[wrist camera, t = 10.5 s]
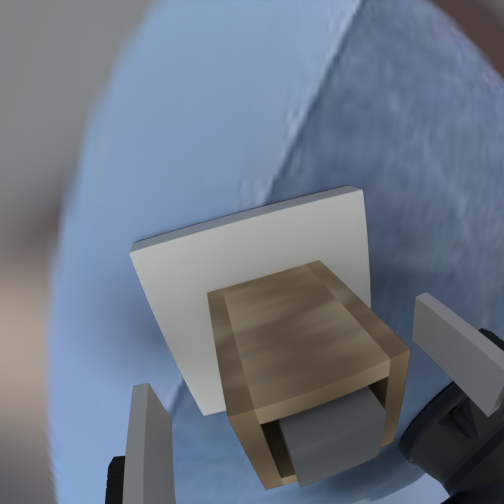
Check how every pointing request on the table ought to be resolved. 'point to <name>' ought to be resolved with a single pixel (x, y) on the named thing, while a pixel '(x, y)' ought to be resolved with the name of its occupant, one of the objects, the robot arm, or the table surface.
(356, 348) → the collar
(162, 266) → the post board
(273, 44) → the table surface
